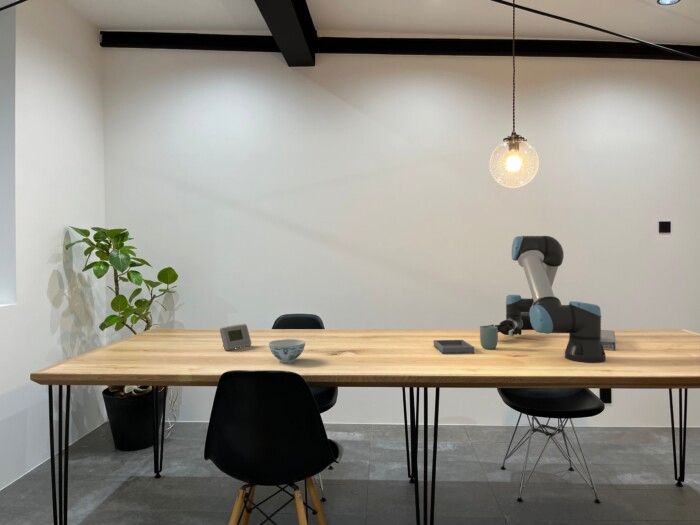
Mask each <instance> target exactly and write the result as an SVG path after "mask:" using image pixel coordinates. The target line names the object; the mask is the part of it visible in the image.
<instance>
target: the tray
mask: <svg viewBox="0 0 700 525" xmlns="http://www.w3.org/2000/svg"><path fill="white" fill-rule="evenodd" d="M433 347H434V348H435V349H437V351H439V353H441V354H442V355H462V354H463V355H464V354H467V355H469V354H475V347H474V346H473V345H472V344H470V343H468V342H467V341H466V340H464V339H437V340H436V339H434V340H433Z"/></svg>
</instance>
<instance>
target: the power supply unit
mask: <svg viewBox="0 0 700 525" xmlns="http://www.w3.org/2000/svg"><path fill="white" fill-rule="evenodd" d="M601 343H602V346H603V349H604V351H614V352H616V351H617V339H616V334H615V330H611V329H610V330H609V329H601Z"/></svg>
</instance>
